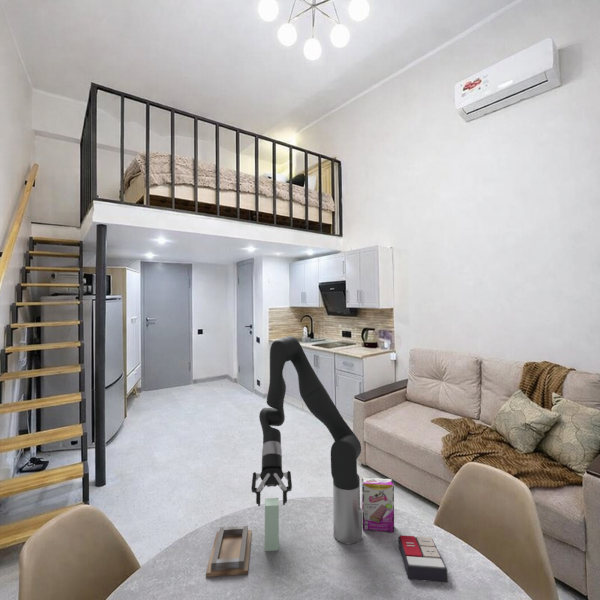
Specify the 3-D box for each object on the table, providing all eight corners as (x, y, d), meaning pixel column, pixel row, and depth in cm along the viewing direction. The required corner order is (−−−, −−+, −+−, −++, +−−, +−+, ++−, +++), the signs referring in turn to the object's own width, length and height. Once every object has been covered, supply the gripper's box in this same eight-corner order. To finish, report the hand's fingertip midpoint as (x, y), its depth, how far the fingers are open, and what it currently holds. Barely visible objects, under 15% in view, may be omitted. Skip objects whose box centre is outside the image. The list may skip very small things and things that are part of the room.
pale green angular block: (278, 541, 110) (278, 497, 111) (278, 550, 106) (278, 505, 107) (264, 541, 110) (265, 498, 111) (264, 551, 105) (264, 506, 106)
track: (251, 532, 115) (251, 523, 115) (247, 574, 96) (247, 563, 96) (216, 534, 113) (216, 525, 114) (205, 577, 95) (206, 566, 95)
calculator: (432, 535, 108) (447, 566, 93) (432, 549, 107) (448, 583, 92) (398, 533, 109) (407, 563, 94) (398, 547, 108) (408, 580, 94)
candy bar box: (362, 531, 115) (362, 483, 116) (361, 522, 120) (360, 476, 121) (395, 533, 114) (394, 484, 115) (392, 524, 119) (391, 478, 120)
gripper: (252, 453, 121) (250, 502, 109) (291, 451, 122) (292, 500, 110) (253, 461, 126) (251, 509, 114) (290, 460, 127) (291, 507, 115)
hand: (271, 504), depth 112 cm, fingers open, 8 cm apart
